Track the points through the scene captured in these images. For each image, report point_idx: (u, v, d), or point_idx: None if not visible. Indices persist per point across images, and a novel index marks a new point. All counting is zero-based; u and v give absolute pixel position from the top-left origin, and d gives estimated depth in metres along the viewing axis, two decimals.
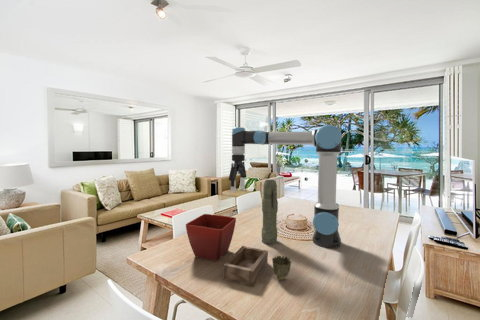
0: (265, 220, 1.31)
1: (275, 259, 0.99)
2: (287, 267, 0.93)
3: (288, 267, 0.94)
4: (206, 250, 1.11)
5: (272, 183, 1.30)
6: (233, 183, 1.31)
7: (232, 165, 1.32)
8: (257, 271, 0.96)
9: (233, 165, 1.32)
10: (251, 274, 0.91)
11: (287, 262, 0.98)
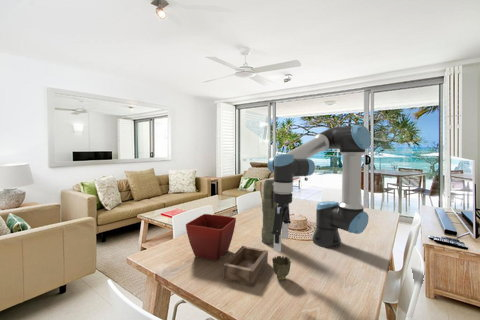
0: (265, 220, 1.31)
1: (275, 259, 0.99)
2: (287, 267, 0.93)
3: (288, 267, 0.94)
4: (206, 250, 1.11)
5: (272, 183, 1.30)
6: (278, 239, 0.88)
7: (276, 211, 0.89)
8: (257, 271, 0.96)
9: (278, 211, 0.88)
10: (251, 274, 0.91)
11: (287, 262, 0.98)
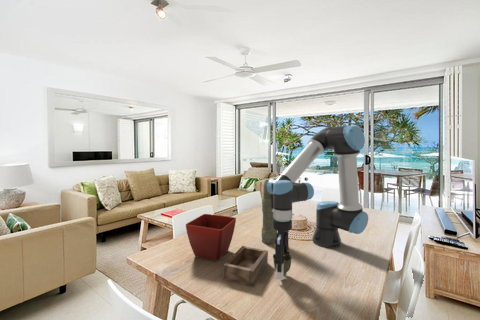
0: (265, 220, 1.31)
1: None
2: (288, 263, 0.93)
3: (289, 263, 0.94)
4: (206, 250, 1.11)
5: None
6: (281, 268, 0.91)
7: (277, 243, 0.90)
8: (257, 271, 0.96)
9: (279, 243, 0.90)
10: (251, 274, 0.91)
11: (288, 258, 0.98)
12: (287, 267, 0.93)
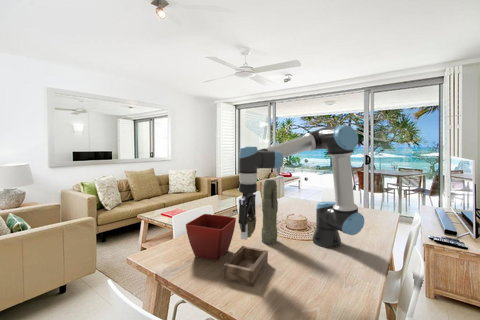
0: (265, 220, 1.31)
1: None
2: (252, 224, 0.98)
3: (253, 224, 0.98)
4: (206, 250, 1.11)
5: (272, 183, 1.30)
6: (244, 228, 0.96)
7: (240, 203, 0.95)
8: (257, 271, 0.96)
9: (242, 203, 0.94)
10: (251, 274, 0.91)
11: (253, 221, 1.03)
12: (251, 228, 0.98)
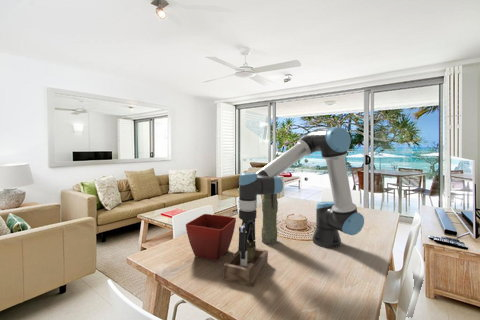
0: (265, 220, 1.31)
1: None
2: (251, 251, 0.99)
3: (253, 251, 0.99)
4: (206, 250, 1.11)
5: None
6: (244, 255, 0.97)
7: (240, 231, 0.95)
8: (257, 271, 0.96)
9: (242, 231, 0.95)
10: (251, 274, 0.91)
11: (253, 247, 1.03)
12: (251, 254, 0.99)
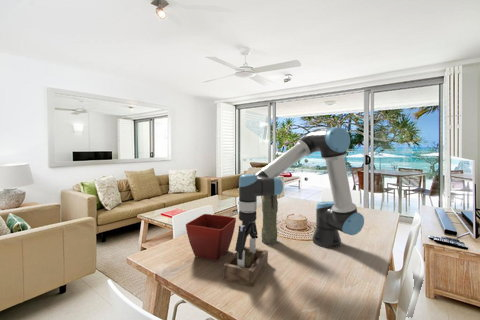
0: (265, 220, 1.31)
1: None
2: (249, 259, 0.96)
3: (250, 259, 0.97)
4: (206, 250, 1.11)
5: None
6: (241, 255, 0.94)
7: (240, 229, 0.95)
8: (257, 271, 0.96)
9: (241, 230, 0.95)
10: (251, 274, 0.91)
11: None
12: (248, 263, 0.96)
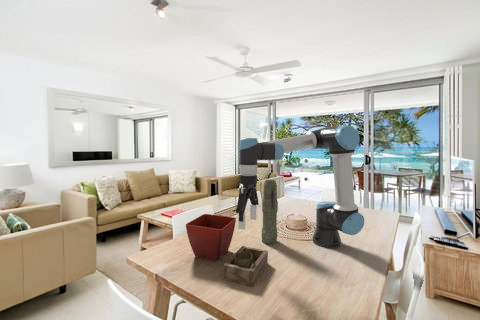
0: (265, 220, 1.31)
1: (239, 254, 1.01)
2: (248, 262, 0.95)
3: (249, 262, 0.95)
4: (206, 250, 1.11)
5: (272, 183, 1.30)
6: (242, 217, 0.93)
7: (240, 191, 0.94)
8: (257, 271, 0.96)
9: (242, 191, 0.94)
10: (251, 274, 0.91)
11: (250, 257, 1.00)
12: (247, 266, 0.95)
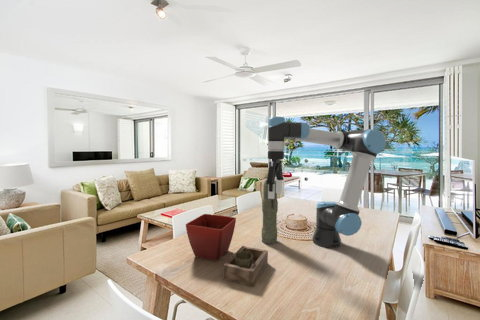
0: (265, 220, 1.31)
1: (239, 254, 1.01)
2: (248, 262, 0.95)
3: (249, 262, 0.95)
4: (206, 250, 1.11)
5: None
6: (272, 187, 1.03)
7: (270, 164, 1.04)
8: (257, 271, 0.96)
9: (272, 164, 1.04)
10: (251, 274, 0.91)
11: (250, 257, 1.00)
12: (247, 266, 0.95)
